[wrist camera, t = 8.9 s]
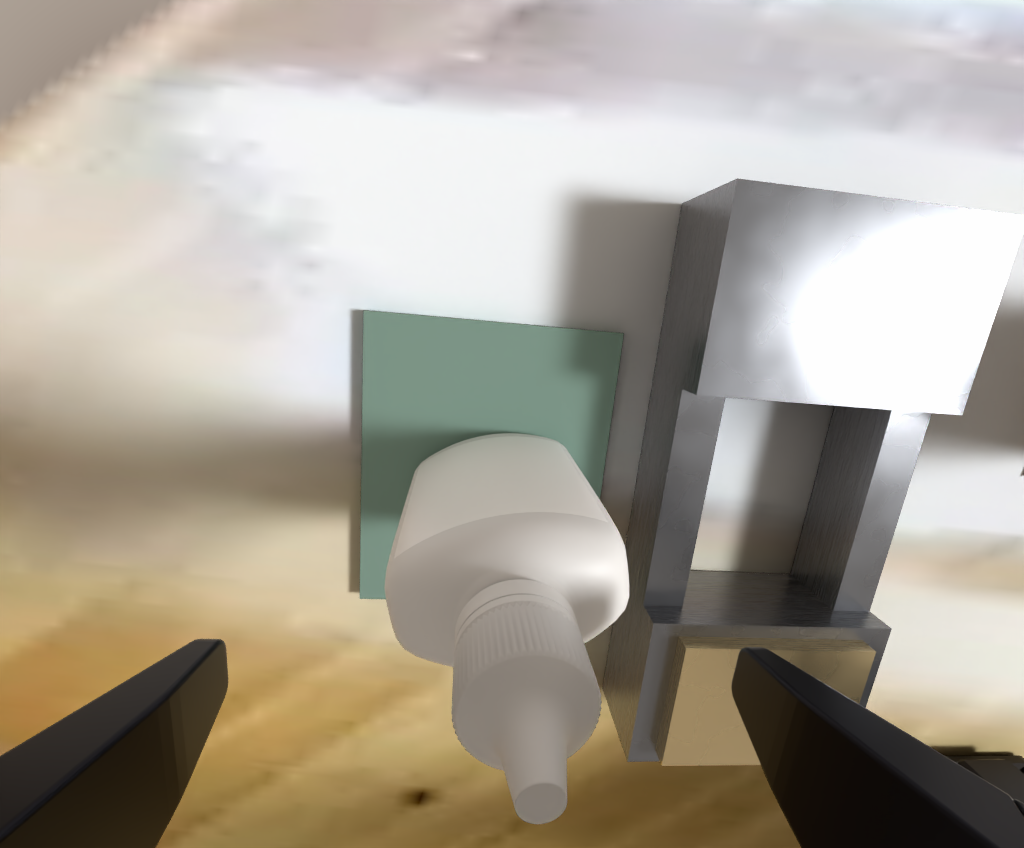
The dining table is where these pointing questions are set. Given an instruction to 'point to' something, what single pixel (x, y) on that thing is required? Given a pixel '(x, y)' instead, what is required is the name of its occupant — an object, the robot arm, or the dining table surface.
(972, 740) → the dining table surface
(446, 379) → the mat
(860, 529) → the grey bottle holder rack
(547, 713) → the eye dropper bottle
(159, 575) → the dining table surface
